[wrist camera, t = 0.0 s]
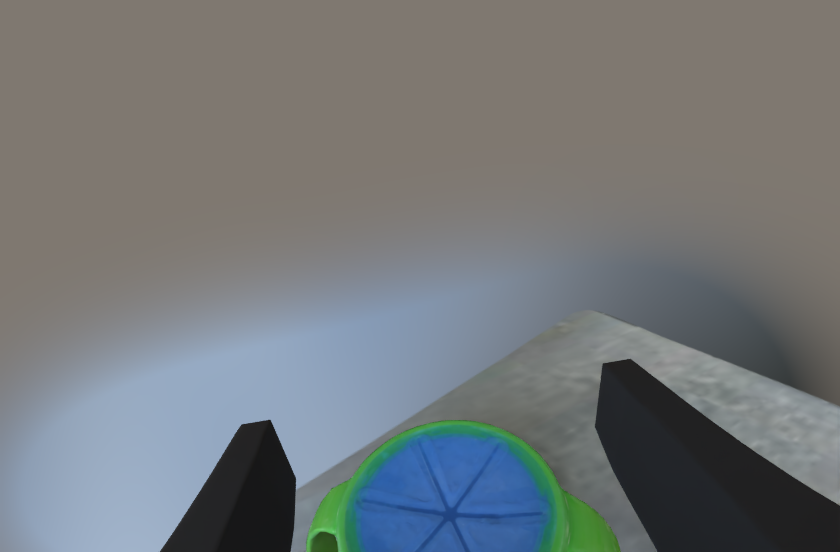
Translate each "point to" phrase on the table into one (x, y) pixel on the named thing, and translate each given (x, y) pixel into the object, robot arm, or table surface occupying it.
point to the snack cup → (456, 498)
